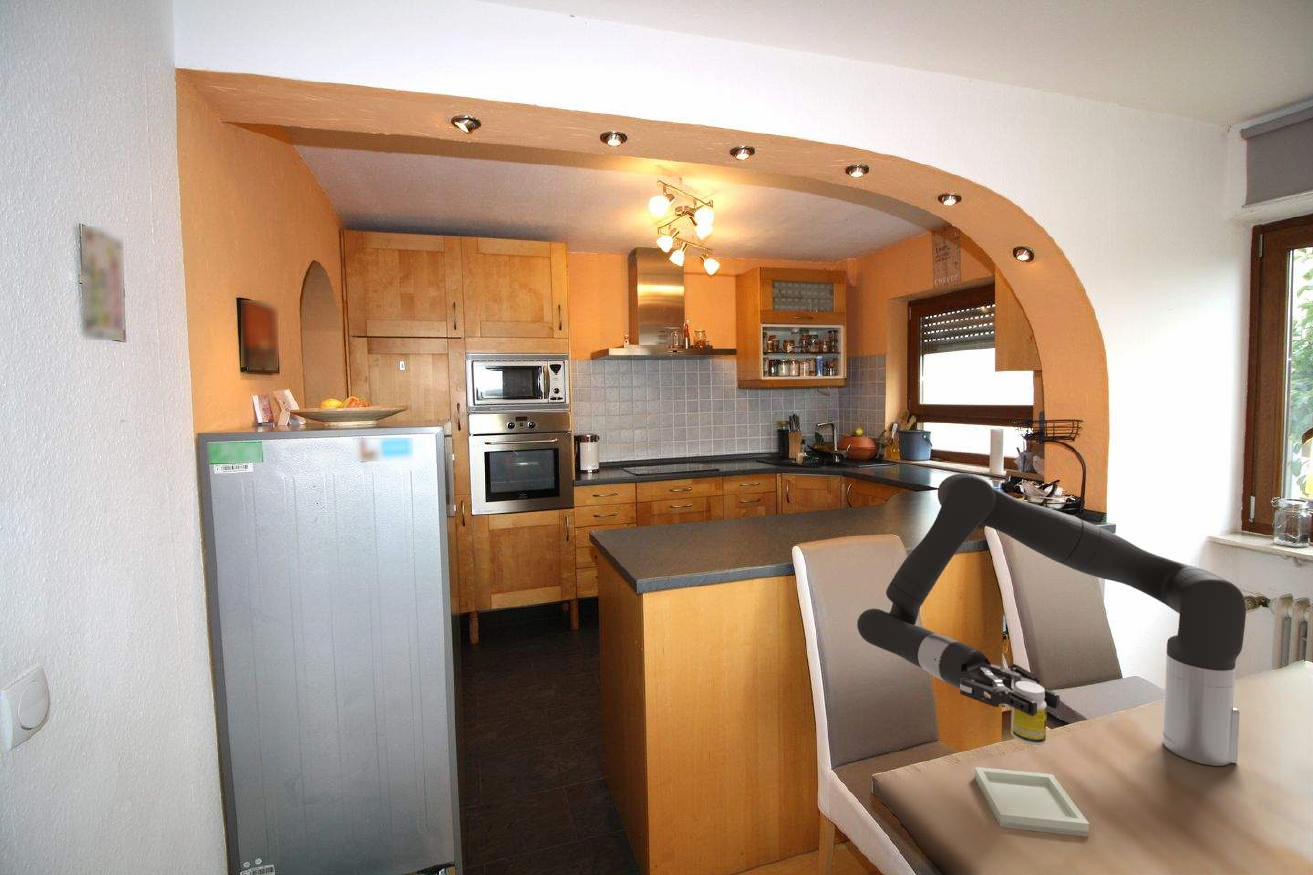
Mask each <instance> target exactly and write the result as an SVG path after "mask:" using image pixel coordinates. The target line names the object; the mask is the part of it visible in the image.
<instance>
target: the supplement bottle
mask: <svg viewBox="0 0 1313 875" xmlns="http://www.w3.org/2000/svg"><path fill="white" fill-rule="evenodd" d="M1044 688H1045V687H1044V686H1042V685H1041V684H1040V685H1039V684H1036V683H1033V682H1029V681H1018V682H1016V683H1015V692H1016V693H1018V694H1021V695H1023V696H1025V697H1027V698H1029V699H1031V700H1033V701H1035V702H1036V703H1037V714H1036V715H1034V716H1030V715H1028V714H1026V713H1024V712H1022V711H1020V710H1018V709H1016V708H1014V707H1012V706H1011V710H1010V712H1011V713H1010V714H1011V716H1010V733H1011V736H1012V737H1014V739H1015V740H1017V741H1019V742H1020V743H1023V744H1025V745H1029V746H1042V745H1044V744H1045V742H1046V741H1047V714H1048V705H1047V704H1046V702H1045V700H1044V698H1045V689H1046V688H1045V689H1044Z"/></svg>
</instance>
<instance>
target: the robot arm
mask: <svg viewBox="0 0 1313 875" xmlns="http://www.w3.org/2000/svg"><path fill="white" fill-rule="evenodd" d="M937 500H938V503H939V504H940V508H939V510H938V511H939V512H938V513H937V515H936V517H935V520H934V522H933V524H932V525H931V527H930V529H929V530H928V532H927V533H926V534H925V536H924V538H923V539H922V540H921V541H920V542H919V543H918V544H917V545H916V546H915V548H914V549H913V550H912V551H911V552H910V553H909V555H908V556H907V557H906V558H905V559H904V561H903V562H902V564H901V565H900V566H899V568H898V570H897V571H896V573H895V574H894V575H893V577H892V580H891V581H890V583H889V585H888V586H887V588H886V591H885V594H886V597H887V598H888V600H889V601H890V602H891V603H892V604H891V609H890V611H889V612H887V611H885V610H881V609H879V608H868V609H866V610H864V611H863V612H862V613H861V614H859V616H858V619H857V624H856V626H857V631H858V633H859V635H860V636H861V638H862V639H863V640H864V641H865V642H867V643H868V644H871V645H873V646H875V647H877V648H880V649H881V650H885V651H886V652H889V653H892V654H895V655H896V656H899V657H900V658H902V659H904V660H905V661H907V662H909V663H911V664H913V665H915V666H917V667H919V668H920V669H923V670H925V671H926V672H928V673H929V674H930V675H932V676H934V677H935V678H937V679H939V680H941V681H943V682H945V683H947V684H949V685H950V686H953V687H955V688H957V689H959V693H960V694H959V695H962V696H965V697H966V698H967V697H968V698H969V699H971V700H972V699H973V700H974V701H978V702H980V703H983V704H986V705H989V706H992V707H993V708H994V707H995V708H999V707H1000V705H1002V706H1004V707H1011V708H1012V707H1014V708H1016V709H1018V710H1020V711H1022V712H1024V713H1026V714H1028V715H1030V716H1034V715H1036V714H1037V703H1036V702H1035V701H1033V700H1031V699H1029V698H1027V697H1025V696H1023V695H1021V694H1018V693H1016V692H1015V683H1016V682H1018V681H1029V682H1033V683H1036V684H1039V685H1040V686H1041V677H1039V676H1037V675H1036V674H1034V673H1031V672H1030V671H1028V669H1027V670H1026V669H1025V668H1023V667H1021V666H1020V665H1019V664H1015V663H1010V665H1009V666H1010V668H1004V667H1002V666H1001V665H997V664H992V663H991V662H990V661H989V659H988V658H987V656H986V654H985V653H984V652H983V651H981V650H980V649H977V648H975V647H973V646H970V645H967V644H966V643H963V642H961V641H958V640H957V639H953V638H952V637H949V636H946V635H943V634H938V633H936V632H935V631H932V630H929V629H927V628H924V627H922V626H918V625H916V624H917V619H918V616H919V612H920V609H921V607H922V605H923V604H924V602H925V601H926V599H927V598H928V596H929V594H930V593H931V591H932V590H933V588H934V587H935V585H936V584H937V582H938V580H939V579H940V577H941V575H942V574H943V571H945V568H946V567H947V566H948V564H949V562H950V561H951V560H952V558H953V557H954V555H955V554H956V553H957V551H958V550H959V549H960V548H961V547H962V545H963V544H964V543H965V541H966V540H967V539H968V538H969V536H970V535H971V534H972V533H973V532H974V531H975V530H976V529H977V528H978V527H979V526H980V525H982V526H985V527H988V528H991V529H994V530H996V531H998V532H1001V533H1002V534H1005V535H1007V536H1009V537H1011V538H1012V539H1013V540H1015V541H1017V542H1019V543H1021V544H1022V545H1023V546H1026V547H1027V548H1028V549H1031V550H1033V551H1034V552H1036V553H1038V554H1040V555H1042V556H1044V557H1046V558H1048V559H1050V560H1052V561H1054V562H1057V563H1059V564H1061V565H1063V566H1066V567H1068V568H1070V569H1072V570H1075V571H1077V572H1080V573H1082V574H1083V573H1084V574H1086V575H1089V576H1092V577H1095V578H1099V579H1104V580H1107V581H1113V582H1116V583H1120V584H1123V585H1127V586H1129V587H1131V588H1132V589H1136V590H1137V591H1139V592H1142V593H1144V594H1146V595H1148V596H1150V597H1151V598H1153V599H1154V600H1157V601H1159V602H1160V603H1162V604H1164V605H1165V606H1167V607H1169V608H1170V609H1172V610H1173V611H1175V612H1176V613H1177V614H1179V617H1178V618H1179V619H1178V629H1177V633H1176V634H1177V635H1173V636H1170V637H1169V638H1168V639H1167V642H1166V659H1165V683H1164V684H1165V686H1164V689H1165V690H1164V712H1163V731H1162V732H1163V733H1162V734H1163V740H1162V741H1163V744H1164V746H1165V747H1166V749H1167V750H1169V751H1170V752H1171V753H1173V754H1176V755H1177V756H1179V757H1182V758H1183V759H1186V760H1188V761H1191V762H1194V763H1197V764H1202V765H1206V766H1215V767H1222V766H1227V765H1230V764H1238V761H1239V760H1238V759H1239V758H1238V757H1239V736H1240V716H1241V714H1240V713H1241V712H1240V710H1239V709H1238V708H1236V707H1235V706H1234V703H1235V702H1234V701H1235V700H1234V699H1235V682H1236V680H1235V679H1236V678H1235V677H1236V661H1237V658H1238V657H1239V656H1240V654H1241V652H1242V650H1243V645H1244V638H1245V627H1246V617H1247V616H1246V615H1247V608H1246V607H1247V606H1246V600H1245V597H1244V595H1243V592H1242V591H1241V590H1240V588H1239V587H1237V585H1235V584H1234V583H1233V582H1230V581H1229V580H1228V579H1225V578H1223V577H1221V576H1219V575H1217V574H1215V573H1213V572H1210V571H1208V570H1206V569H1203V568H1199V567H1197V566H1192V565H1188V564H1185V563H1182V562H1179V561H1176V560H1172V559H1169V558H1165V557H1163V556H1160V555H1157V554H1154V553H1151V552H1149V551H1147V550H1144V549H1142V548H1140V547H1139V546H1136V545H1135V544H1133V543H1132V542H1129V541H1128V540H1126V539H1124V538H1123V537H1120V536H1119V535H1117V534H1115V533H1113V532H1111V531H1109V530H1107V529H1104V528H1102V527H1100V526H1098V525H1095V524H1093V523H1091V522H1088V521H1086V520H1083V519H1081V518H1079V517H1076V516H1073V515H1070V514H1067V513H1064V512H1062V511H1058V510H1055V509H1053V508H1049V507H1046V506H1041V505H1038V504H1035V503H1032V502H1031V503H1030V502H1028V501H1024V500H1021V499H1018V498H1016V497H1014V496H1011V495H1009V494H1007V493H1005V492H1004V491H1001V490H999V489H998V488H995V487H993V486H992V485H991V484H990V483H989V482H988V481H987V480H985V479H984V478H982V477H981V476H977V475H973V474H970V473H954V474H953V475H950V476H947V477H946V478H945V479H943V480H942V481H941V483H939V485H938V488H937ZM1012 683H1013V684H1012ZM1012 685H1013V686H1012ZM1043 688H1044V689H1045V698H1044V700H1045V702H1046V704H1047V707H1050V708H1052V709H1058V708H1060V695H1059V694H1058V693H1056V692H1053V691H1052V690H1049V689H1047V688H1045V687H1043ZM986 696H987V697H986Z"/></svg>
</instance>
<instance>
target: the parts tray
mask: <svg viewBox="0 0 1313 875" xmlns="http://www.w3.org/2000/svg"><path fill="white" fill-rule="evenodd" d="M974 780H975V783H976V784H977V786H978V788H979V790H980V791H981V793H982V795H983V797H984V799H985V801H986V802H987V804H988V806H989V808H990V810H991V812H992V814H993V816H994V817H995V819H996V821H997V823H998V825H999V827H1000V828H1007V829H1014V830H1015V829H1017V830H1023V831H1034V832H1041V833H1044V832H1045V833H1049V834H1050V833H1052V834H1061V835H1070V836H1078V837H1087V838H1090V823H1089V821H1088V819H1087V818H1086V817H1085V816H1084V815H1083V813H1082V812H1081V811H1080V809H1079V808H1078V806H1076V804H1075V802H1074V801H1073V800H1072V799H1071V797H1070V796H1069V795H1068V793H1067V792H1066V791H1065V789H1064V788H1063V787H1062V785H1061V783H1059V781H1058V780H1057V779H1056V777H1055V776H1054V775H1053V774H1052V773H1045V772H1034V771H1033V772H1031V771H1023V770H1010V769H1000V768H989V767H979V766H974Z"/></svg>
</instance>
